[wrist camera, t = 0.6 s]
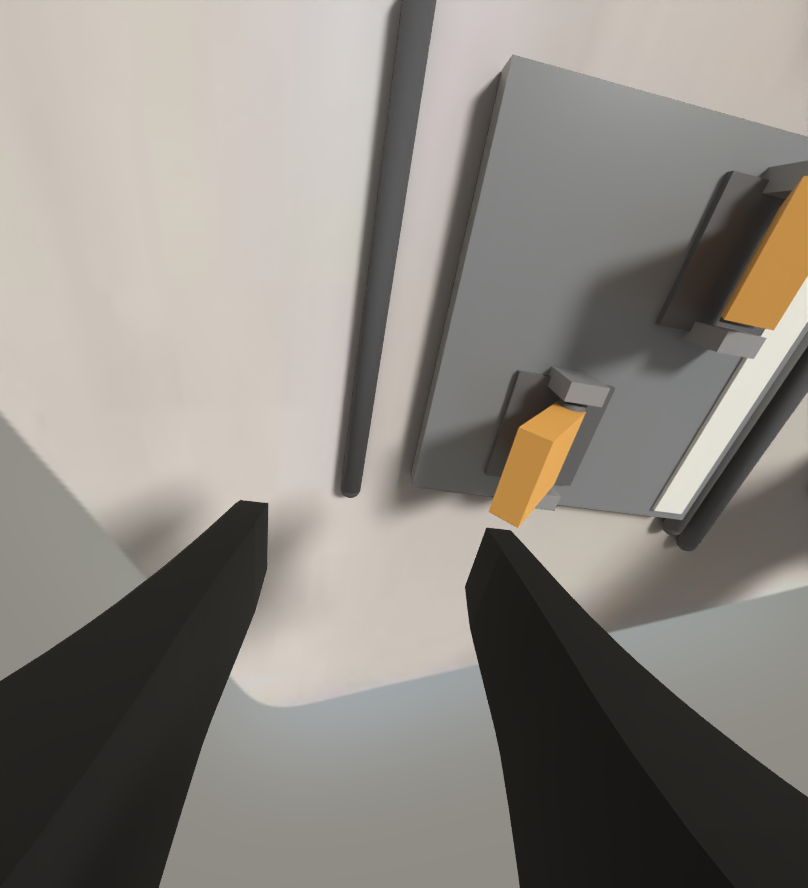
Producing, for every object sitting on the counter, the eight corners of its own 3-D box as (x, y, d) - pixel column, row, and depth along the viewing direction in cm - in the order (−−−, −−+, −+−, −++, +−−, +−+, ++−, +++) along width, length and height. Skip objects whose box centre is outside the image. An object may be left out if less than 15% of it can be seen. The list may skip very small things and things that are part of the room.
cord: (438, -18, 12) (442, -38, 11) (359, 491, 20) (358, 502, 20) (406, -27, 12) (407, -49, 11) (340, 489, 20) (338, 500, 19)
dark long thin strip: (889, 193, 15) (921, 190, 14) (670, 528, 23) (681, 539, 22) (868, 187, 15) (898, 184, 14) (655, 526, 23) (666, 538, 22)
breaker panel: (877, 172, 15) (996, 156, 12) (668, 506, 22) (709, 546, 19) (502, 69, 13) (535, 22, 10) (410, 473, 20) (415, 512, 17)
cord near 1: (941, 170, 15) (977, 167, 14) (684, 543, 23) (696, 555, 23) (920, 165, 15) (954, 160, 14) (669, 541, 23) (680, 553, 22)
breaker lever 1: (591, 404, 16) (555, 436, 12) (556, 483, 18) (516, 532, 14) (562, 394, 16) (520, 421, 13) (531, 472, 18) (487, 515, 15)
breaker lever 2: (825, 208, 13) (873, 170, 9) (753, 328, 15) (769, 337, 11) (780, 203, 13) (809, 166, 10) (716, 320, 15) (720, 326, 12)
